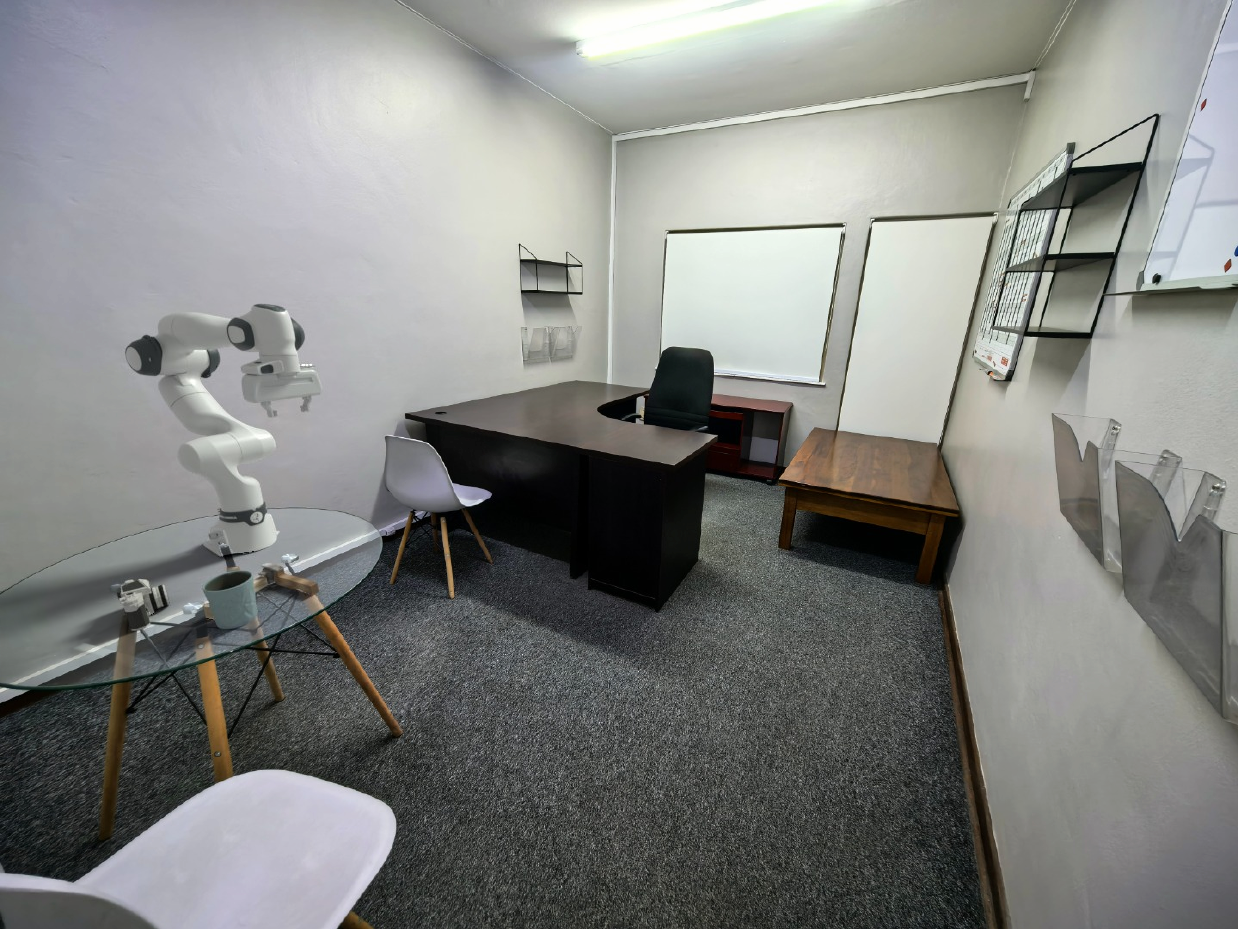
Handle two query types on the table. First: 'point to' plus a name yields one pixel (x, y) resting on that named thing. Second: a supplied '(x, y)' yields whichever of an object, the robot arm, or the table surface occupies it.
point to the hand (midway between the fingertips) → (289, 414)
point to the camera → (141, 601)
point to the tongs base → (258, 585)
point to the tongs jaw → (292, 580)
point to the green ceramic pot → (231, 598)
